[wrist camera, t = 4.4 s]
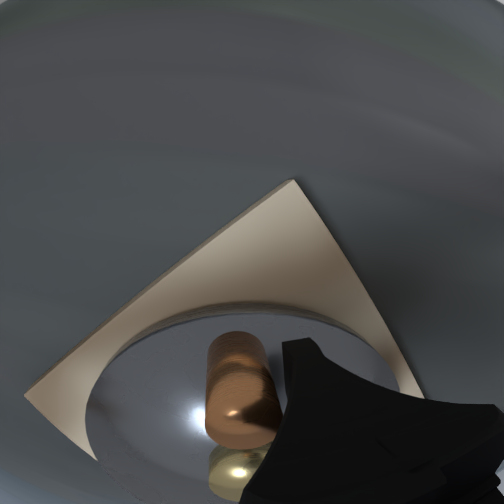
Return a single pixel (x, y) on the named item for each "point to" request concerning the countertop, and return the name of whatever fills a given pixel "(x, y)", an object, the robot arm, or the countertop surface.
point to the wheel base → (229, 298)
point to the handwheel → (207, 398)
